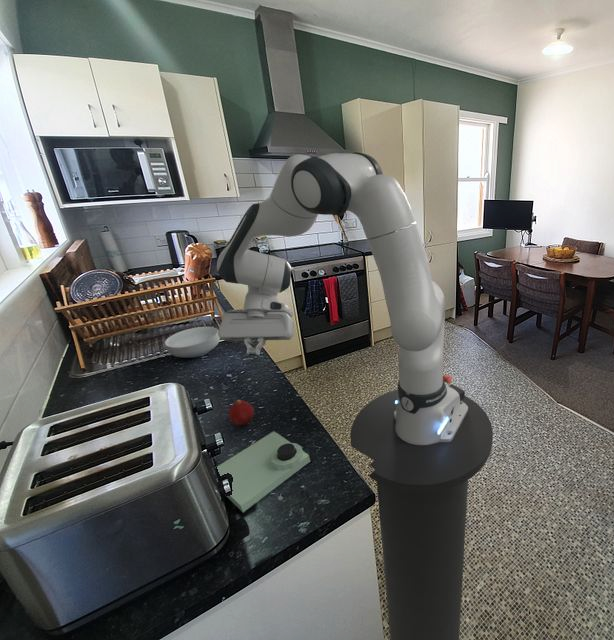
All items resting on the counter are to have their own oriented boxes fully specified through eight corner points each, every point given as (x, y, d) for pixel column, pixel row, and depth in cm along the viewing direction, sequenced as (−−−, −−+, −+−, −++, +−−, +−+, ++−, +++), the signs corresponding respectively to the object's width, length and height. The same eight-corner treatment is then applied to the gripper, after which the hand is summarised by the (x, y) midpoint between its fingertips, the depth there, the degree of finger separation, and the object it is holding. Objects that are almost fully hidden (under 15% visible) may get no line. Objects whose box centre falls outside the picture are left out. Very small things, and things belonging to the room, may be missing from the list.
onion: (229, 423, 92) (222, 399, 89) (252, 414, 96) (246, 390, 92) (235, 435, 88) (228, 409, 85) (259, 425, 92) (253, 400, 88)
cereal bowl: (190, 342, 136) (185, 325, 134) (232, 342, 136) (227, 326, 133) (158, 364, 121) (152, 346, 118) (204, 365, 120) (199, 347, 117)
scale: (275, 436, 87) (272, 425, 86) (311, 461, 80) (308, 450, 78) (209, 479, 75) (204, 467, 74) (243, 513, 68) (239, 500, 66)
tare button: (289, 446, 80) (288, 441, 79) (298, 453, 78) (297, 447, 77) (275, 456, 77) (273, 450, 77) (284, 463, 75) (283, 457, 75)
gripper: (218, 305, 98) (208, 352, 93) (291, 304, 99) (285, 350, 94) (230, 313, 104) (221, 358, 99) (298, 312, 105) (292, 356, 100)
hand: (252, 354), depth 97 cm, fingers closed
